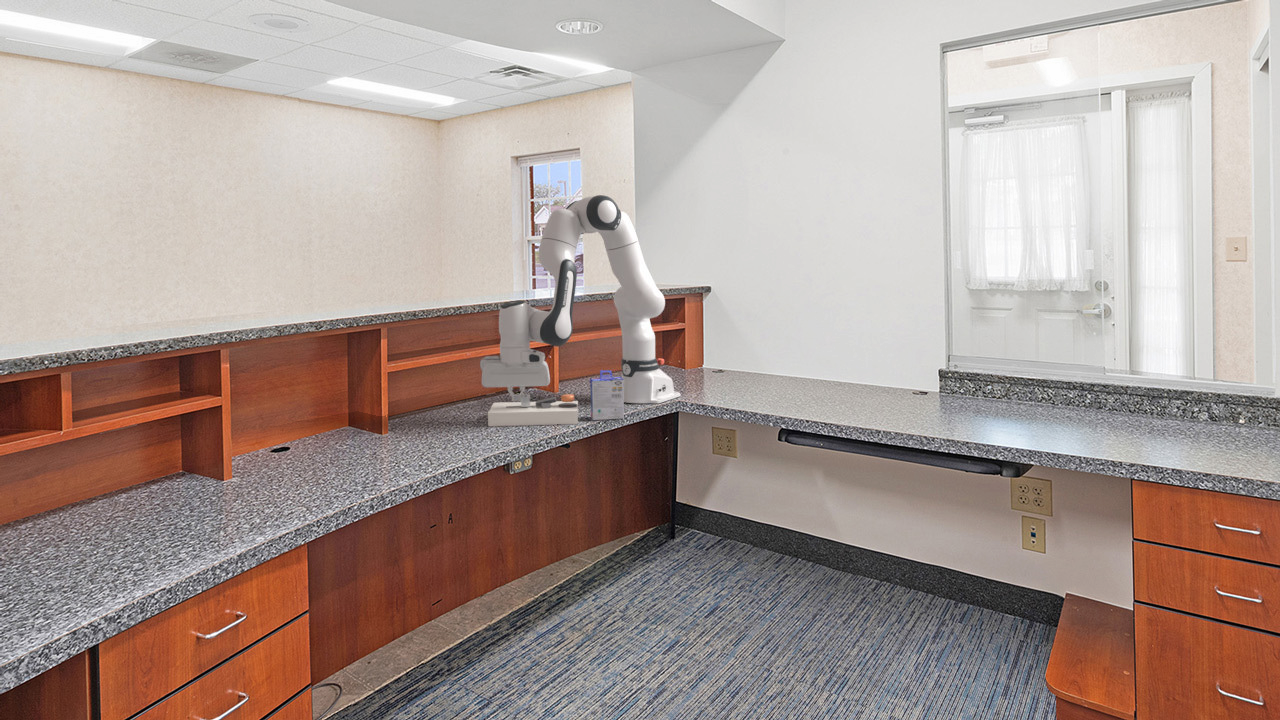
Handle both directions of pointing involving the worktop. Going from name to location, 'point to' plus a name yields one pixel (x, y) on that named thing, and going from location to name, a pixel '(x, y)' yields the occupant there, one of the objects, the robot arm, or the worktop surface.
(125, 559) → the worktop surface
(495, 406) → the control panel
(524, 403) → the slider knob
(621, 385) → the ink cartridge box
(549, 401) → the rocker switch
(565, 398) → the push button
